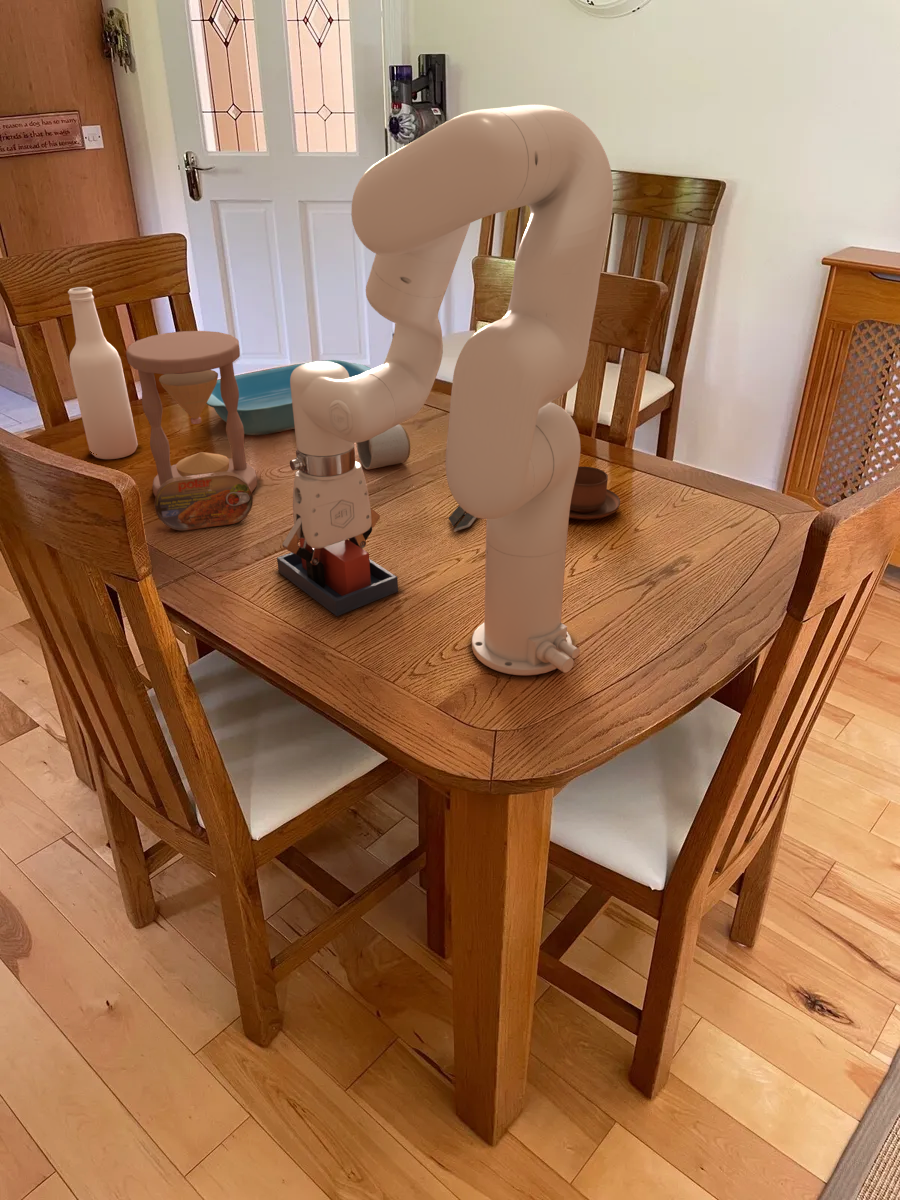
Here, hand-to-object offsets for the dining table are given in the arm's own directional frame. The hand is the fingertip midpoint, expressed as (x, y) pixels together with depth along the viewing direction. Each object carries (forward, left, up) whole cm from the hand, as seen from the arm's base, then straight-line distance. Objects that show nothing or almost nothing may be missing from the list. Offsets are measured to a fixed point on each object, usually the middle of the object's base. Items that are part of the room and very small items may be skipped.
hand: (336, 576), depth 126 cm
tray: (0, 0, -1) cm, 1 cm away
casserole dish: (+65, -31, -1) cm, 72 cm away
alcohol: (+69, +6, -1) cm, 69 cm away
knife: (+7, -33, -1) cm, 34 cm away
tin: (+29, +6, -1) cm, 30 cm away
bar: (0, 0, 0) cm, 0 cm away
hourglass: (+42, 0, -1) cm, 42 cm away
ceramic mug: (+32, -30, -1) cm, 44 cm away
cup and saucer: (-6, -44, -1) cm, 44 cm away
